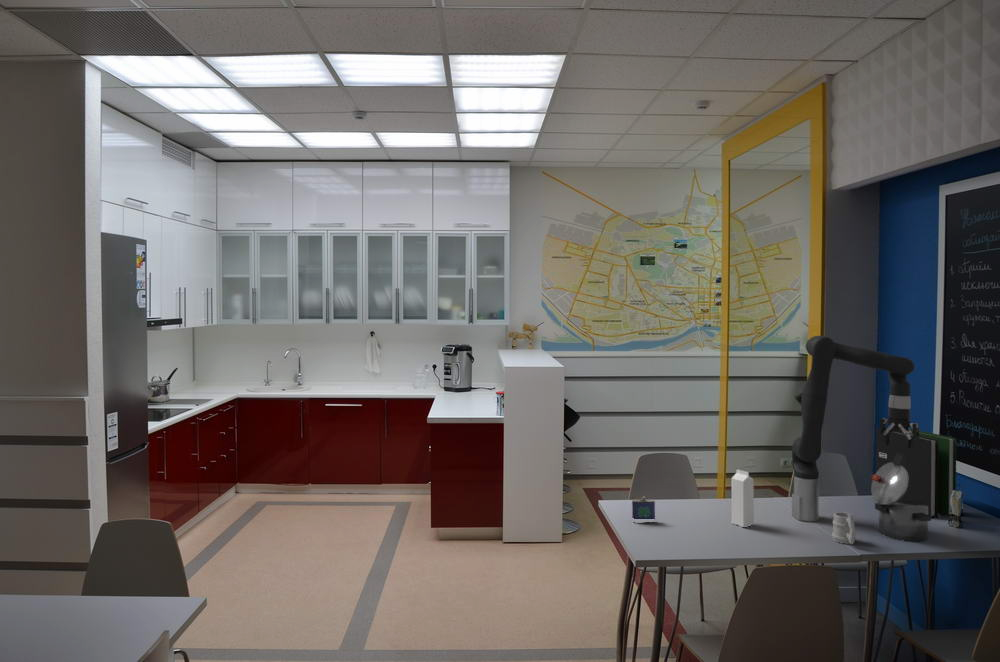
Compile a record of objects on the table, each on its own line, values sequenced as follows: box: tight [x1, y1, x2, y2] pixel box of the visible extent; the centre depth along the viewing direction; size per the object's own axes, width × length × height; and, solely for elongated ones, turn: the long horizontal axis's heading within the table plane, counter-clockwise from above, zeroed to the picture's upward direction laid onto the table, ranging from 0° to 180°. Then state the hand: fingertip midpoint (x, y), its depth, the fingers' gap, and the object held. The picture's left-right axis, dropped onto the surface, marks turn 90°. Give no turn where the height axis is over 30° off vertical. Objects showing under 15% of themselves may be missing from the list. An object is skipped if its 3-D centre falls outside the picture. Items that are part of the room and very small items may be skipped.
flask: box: [631, 495, 656, 520], centre depth 269 cm, size 9×3×11 cm, turn 88°
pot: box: [874, 498, 932, 543], centre depth 250 cm, size 17×25×12 cm
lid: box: [870, 453, 909, 506], centre depth 249 cm, size 20×17×4 cm
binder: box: [875, 427, 957, 519], centre depth 281 cm, size 27×15×32 cm, turn 13°
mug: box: [831, 511, 856, 545], centre depth 243 cm, size 8×12×12 cm, turn 177°
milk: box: [731, 468, 755, 527], centre depth 264 cm, size 6×6×22 cm
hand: (898, 446), depth 265 cm, fingers open, 8 cm apart
